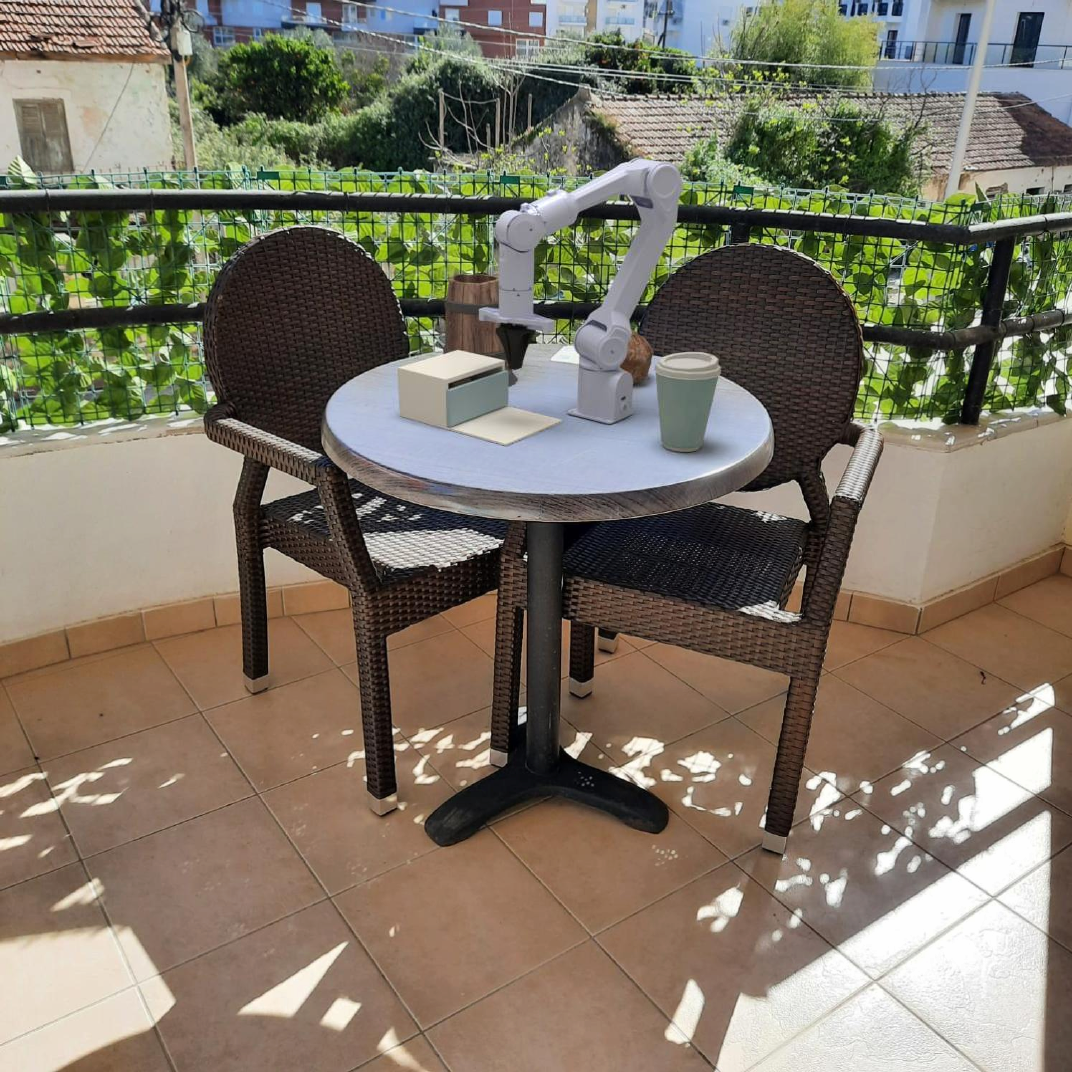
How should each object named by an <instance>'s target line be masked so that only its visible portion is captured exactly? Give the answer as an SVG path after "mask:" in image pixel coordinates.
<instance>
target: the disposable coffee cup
mask: <svg viewBox="0 0 1072 1072" xmlns="http://www.w3.org/2000/svg"><path fill="white" fill-rule="evenodd" d="M721 369H722V366H720V365H719V358H718V357H717V356H715V355H713V354H711V353H706V352H703V351H702V352H701V351H700V352H699V351H685V352H678V353H677V352H676V353H672V354H671V353H670V354H669V355H665V356H662V357H661V358H660V359H659V360H658V362H656V363H655V364H654V372H655V382H656V383H655V384H656V394H657V404H658V405H657V406H658V419H659V431H660V440H661V442H662V446H663V447H664V448H665V449H667V450H669V451H671V452H672V451H673V452H680V453H689V452H694V451H695V452H696V451H699V450H700V448H701V446H702V444H703V443H704V439H705V434H706V430H707V427H708V422H709V417H710V413H711V409H712V405H713V401H714V397H715V393H716V389H717V385H718V381H719V376H720V375H721V374H722V370H721Z"/></svg>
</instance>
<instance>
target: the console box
mask: <svg viewBox="0 0 1072 1072" xmlns="http://www.w3.org/2000/svg"><path fill="white" fill-rule="evenodd" d="M504 370H505V360H501V359H496V358H492V357H487V356H483V355H478V354H474V353H469V352H465V351H461V350H456V351H453V352H449V353H446V354H440V355H437V356H433V357H429V358H426V359H423V360H420V361H416V362H412V363H409V364H406V365H403V366H399V367H397V384H398V407H399V408H398V409H399V413H398V414H399V417H401V418H406V419H408V420H412V421H415V422H419V423H423V424H426V425H430V426H433V427H436V428H441V429H443V430H448V431H450V430H451V431H452V432H453V433H457V434H458V433H459V434H461V435H465V436H468V437H472V438H476V439H479V438H480V440H482V441H486V440H487V442H489V441H490V443H493V444H496V443H498V444H497V445H500V446H503V445H504V447H508V446H510V445H513V444H515V443H517V442H519V440H520V441H522V440H524V439H527V438H529V437H531V436H533V435H536V434H538V433H541V432H543V431H545V430H547V428H548V429H551V428H553V427H554V425H555V426H557V425H559V424H561V423H563V420H562V419H560V418H556V417H552V416H548V415H544V414H540V413H535V412H532V411H529V410H526V409H525V410H524V409H522V408H521V409H520V408H517V407H512V406H510V405H506V406H504V407H501V408H498V409H496V410H493V411H490V412H488V413H485V414H482V415H480V416H477V417H475V418H472V419H469V420H467V421H464V422H461V423H459V424H456V425H454V426H451V427H450V426H447V402H446V390H448V383H451V382H454V381H457V380H460V379H463V378H466V377H467V378H471V382H472V381H475V380H478V379H481V378H484V377H487V376H490V375H493V374H496V373H499V372H502V371H504ZM542 430H543V431H542ZM451 431H450V432H451ZM540 431H541V432H540ZM512 443H513V444H512Z"/></svg>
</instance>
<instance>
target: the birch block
mask: <svg viewBox="0 0 1072 1072" xmlns="http://www.w3.org/2000/svg"><path fill="white" fill-rule="evenodd" d="M469 382H471V378H467V377H466V378H463V379H460V380H457V381H454V382H451V383H448V389H451V388H454V387H457V386H460V385H463V384H466V383H469Z"/></svg>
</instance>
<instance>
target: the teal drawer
mask: <svg viewBox="0 0 1072 1072" xmlns="http://www.w3.org/2000/svg"><path fill="white" fill-rule="evenodd" d="M508 383H509V371H506V370H504V371H502V372H499V373H496V374H493V375H490V376H487V377H484V378H481V379H478V380H475V381H472V382H469V383H466V384H463V385H460V386H457V387H454V388H451V389H448V390H446V402H447V426H450V427H451V426H454V425H456V424H459V423H461V422H464V421H467V420H469V419H472V418H475V417H477V416H480V415H482V414H485V413H488V412H490V411H493V410H496V409H498V408H501V407H504V406H509V387H508Z"/></svg>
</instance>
